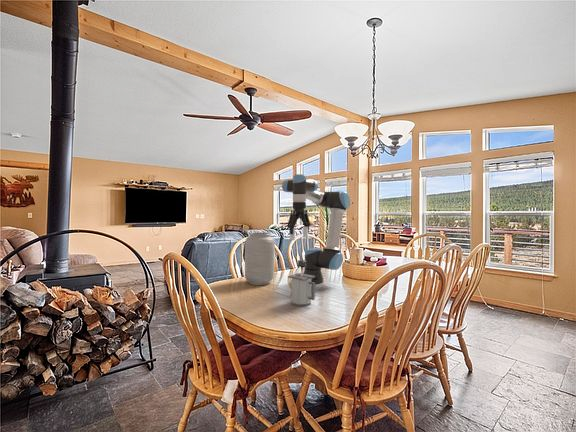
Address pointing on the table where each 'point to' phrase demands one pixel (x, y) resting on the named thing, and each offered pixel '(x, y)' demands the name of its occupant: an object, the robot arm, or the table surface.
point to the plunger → (301, 265)
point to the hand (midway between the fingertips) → (299, 238)
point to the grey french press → (302, 289)
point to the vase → (259, 258)
